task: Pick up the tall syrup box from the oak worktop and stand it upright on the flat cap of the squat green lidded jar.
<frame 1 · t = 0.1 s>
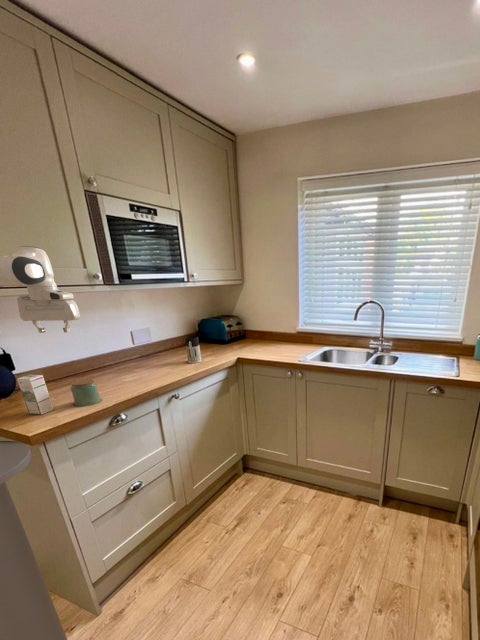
hand: (55, 332, 127), 29 cm above the countertop, tool pointing down, fingers open, 8 cm apart
syrup box: (41, 412, 129), on the countertop
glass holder: (194, 362, 202), on the countertop
green lidded jar: (88, 402, 139), on the countertop
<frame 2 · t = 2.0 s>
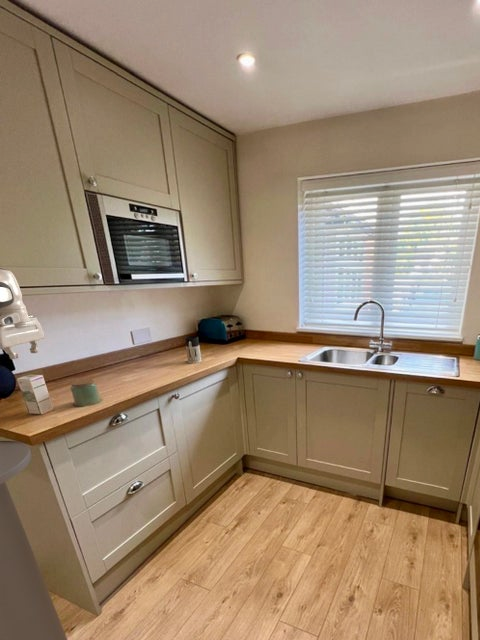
hand: (25, 355, 122), 22 cm above the countertop, tool pointing down, fingers open, 8 cm apart
nothing on the countertop moved.
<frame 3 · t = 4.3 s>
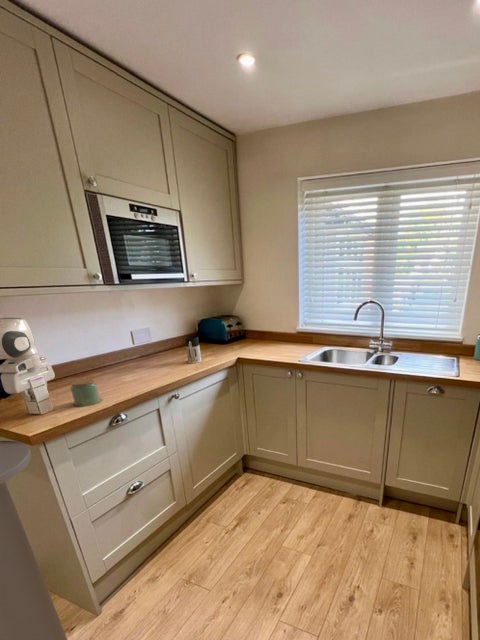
hand: (36, 397, 127), 6 cm above the countertop, tool pointing down, fingers closed on syrup box, 6 cm apart
syrup box: (41, 412, 129), on the countertop, touching gripper
everything else where it was.
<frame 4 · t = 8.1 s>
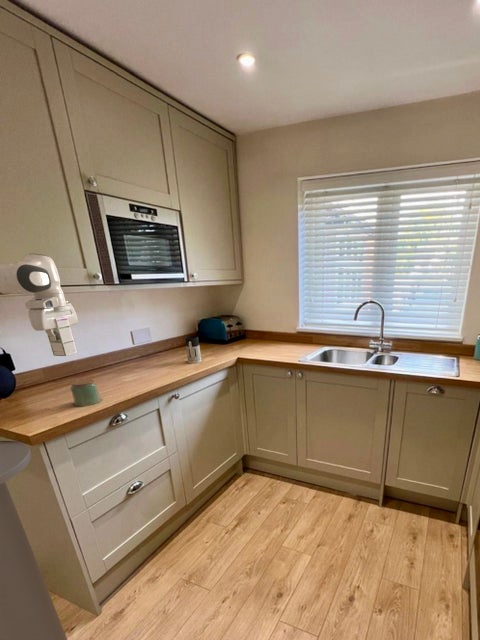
hand: (61, 339, 127), 27 cm above the countertop, tool pointing down, fingers closed on syrup box, 6 cm apart
syrup box: (65, 355, 130), point 21 cm above the countertop, touching gripper
everything else where it was.
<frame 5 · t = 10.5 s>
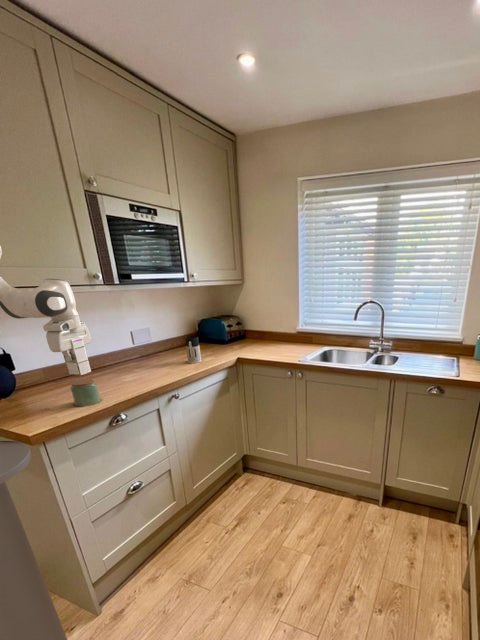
hand: (76, 358, 132), 19 cm above the countertop, tool pointing down, fingers closed on syrup box, 6 cm apart
syrup box: (80, 373, 134), point 12 cm above the countertop, touching gripper
everything else where it was.
when the fingers open (15 cm above the countertop, at t = 12.1 s): syrup box stays where it is, resting on green lidded jar.
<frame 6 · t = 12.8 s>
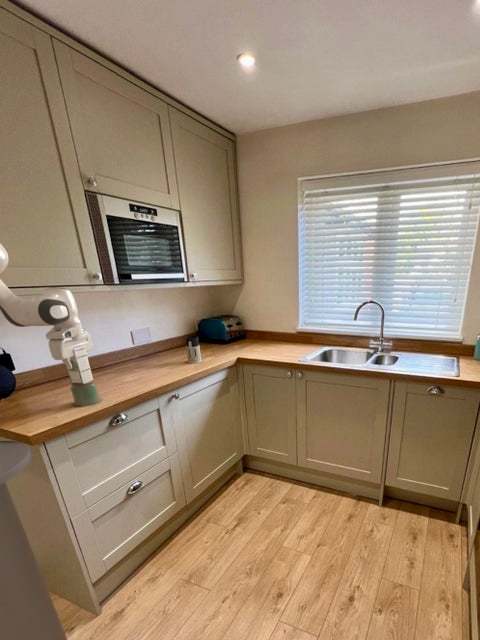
hand: (78, 365, 133), 16 cm above the countertop, tool pointing down, fingers open, 8 cm apart
syrup box: (82, 382, 136), point 9 cm above the countertop, touching green lidded jar
everything else where it was.
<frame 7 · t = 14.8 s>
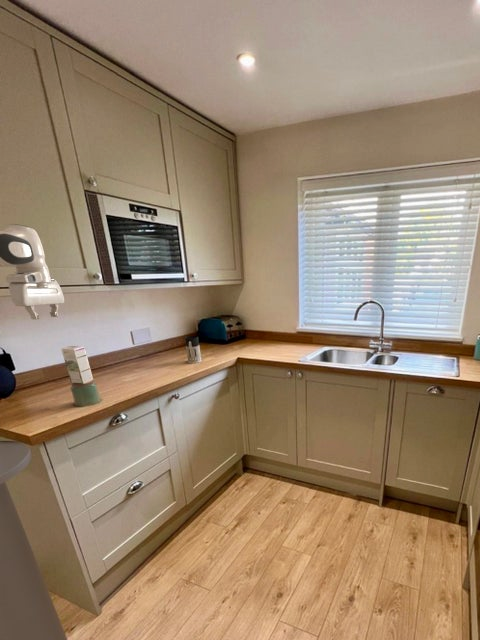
hand: (45, 318, 120), 35 cm above the countertop, tool pointing down, fingers open, 8 cm apart
nothing on the countertop moved.
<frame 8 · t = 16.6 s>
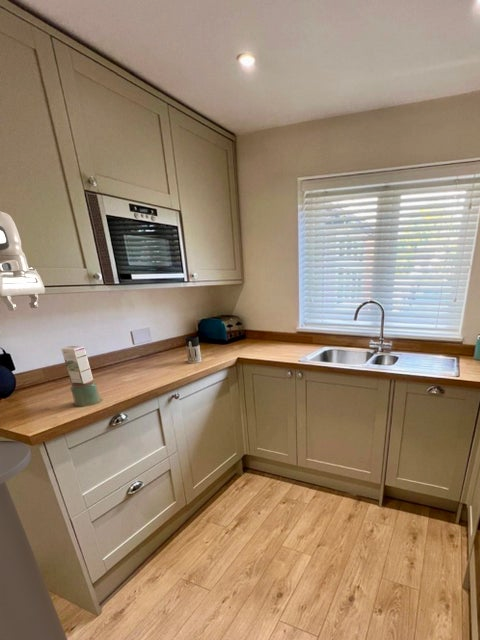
hand: (24, 309, 114), 39 cm above the countertop, tool pointing down, fingers open, 8 cm apart
nothing on the countertop moved.
at the end: syrup box 0.1 cm off-centre on the green lidded jar, point 8.8 cm above the green lidded jar's base; syrup box tilted 0°; the gripper is holding nothing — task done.
